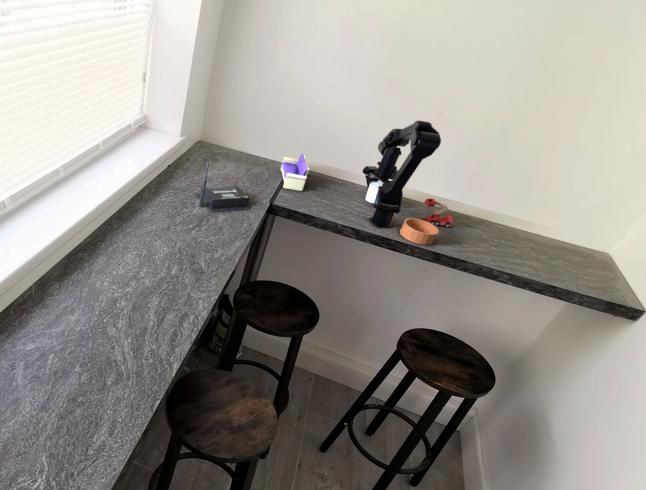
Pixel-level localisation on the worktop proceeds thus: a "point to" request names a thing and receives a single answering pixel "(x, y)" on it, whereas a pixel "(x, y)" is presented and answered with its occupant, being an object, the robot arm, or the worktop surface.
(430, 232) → the bowl
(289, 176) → the toy sofa
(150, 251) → the worktop surface
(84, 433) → the worktop surface
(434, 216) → the toy fire truck
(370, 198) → the shot glass
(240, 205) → the black wifi router
